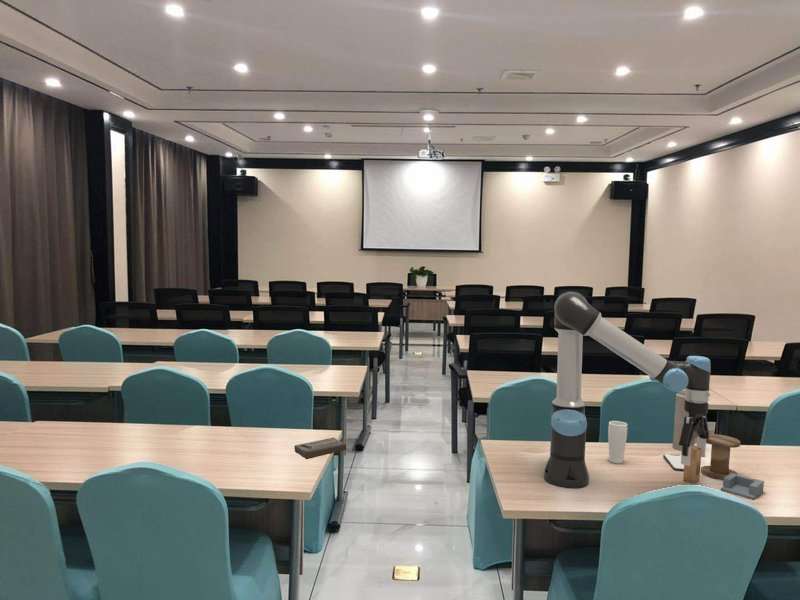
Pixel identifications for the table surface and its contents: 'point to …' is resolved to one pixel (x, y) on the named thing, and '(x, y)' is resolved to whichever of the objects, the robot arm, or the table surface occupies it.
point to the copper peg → (693, 466)
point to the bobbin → (720, 456)
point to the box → (320, 448)
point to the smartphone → (674, 462)
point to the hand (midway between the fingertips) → (693, 460)
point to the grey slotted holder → (742, 486)
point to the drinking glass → (617, 441)
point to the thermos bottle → (680, 420)
